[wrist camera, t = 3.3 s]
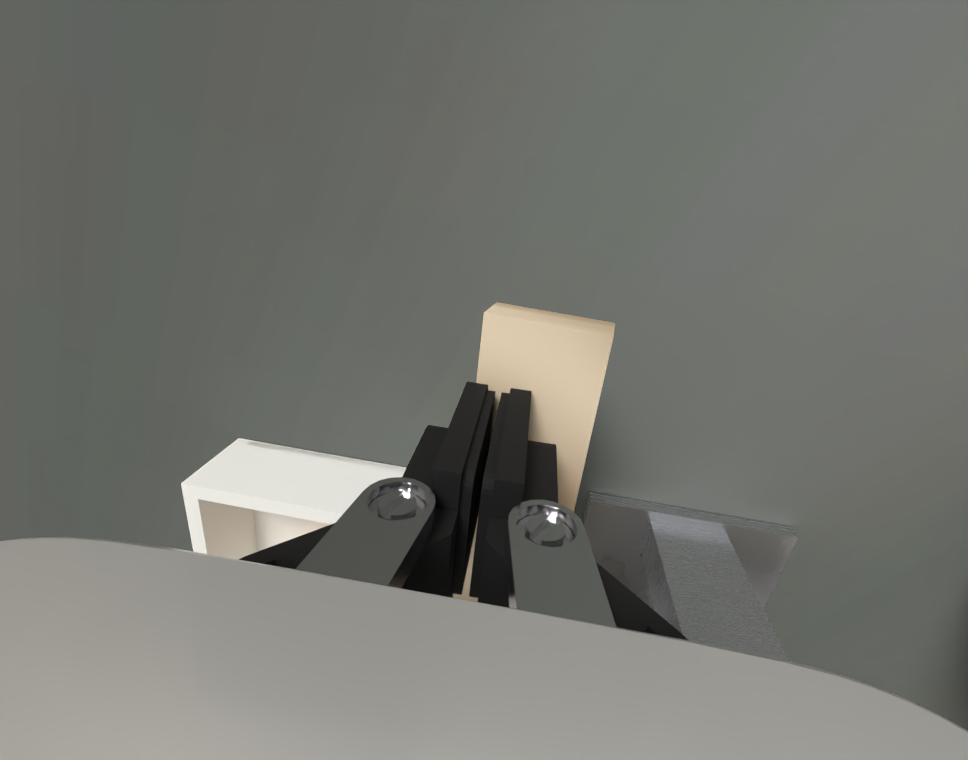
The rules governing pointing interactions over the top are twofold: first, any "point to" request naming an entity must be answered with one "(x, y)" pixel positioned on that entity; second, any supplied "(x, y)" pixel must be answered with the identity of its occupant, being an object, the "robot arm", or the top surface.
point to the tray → (271, 495)
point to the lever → (547, 383)
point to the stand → (694, 567)
